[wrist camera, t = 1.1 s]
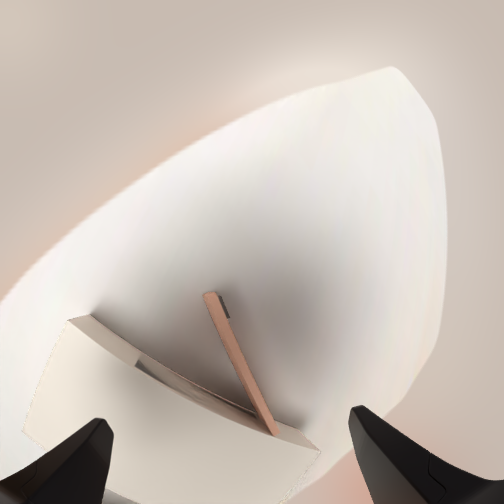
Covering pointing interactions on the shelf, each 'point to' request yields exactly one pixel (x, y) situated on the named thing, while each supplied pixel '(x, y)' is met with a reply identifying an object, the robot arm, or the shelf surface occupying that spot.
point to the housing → (161, 426)
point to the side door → (238, 359)
